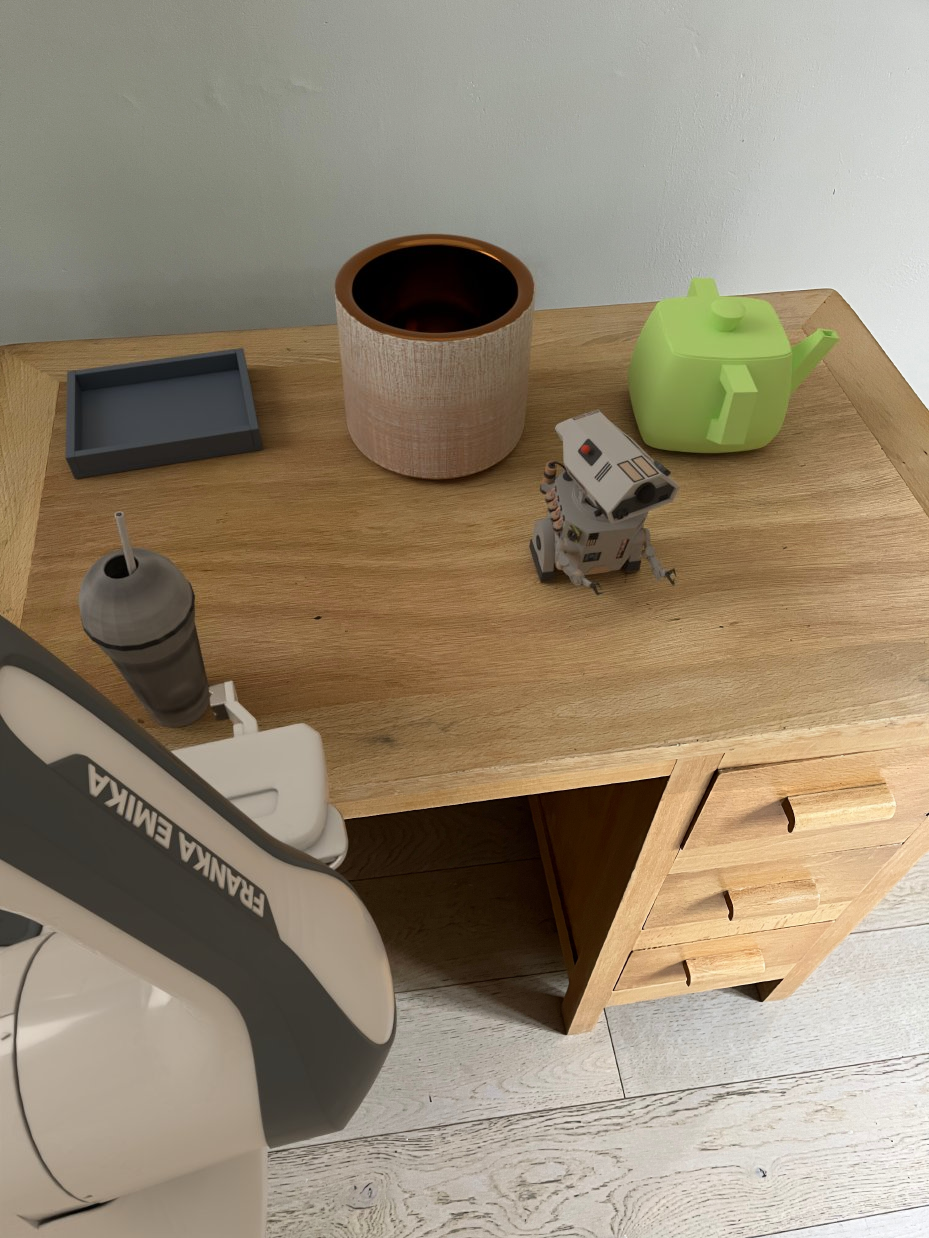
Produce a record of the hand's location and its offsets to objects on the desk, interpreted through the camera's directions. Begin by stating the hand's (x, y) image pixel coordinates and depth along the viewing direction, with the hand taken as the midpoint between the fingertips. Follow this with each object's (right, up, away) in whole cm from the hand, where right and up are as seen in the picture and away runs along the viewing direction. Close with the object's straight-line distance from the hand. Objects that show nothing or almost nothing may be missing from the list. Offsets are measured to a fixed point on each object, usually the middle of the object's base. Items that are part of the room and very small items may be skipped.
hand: (144, 703), depth 52 cm
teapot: (+45, +25, +36) cm, 63 cm away
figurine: (+30, +9, +22) cm, 38 cm away
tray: (-10, +25, +34) cm, 43 cm away
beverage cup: (-2, -1, +13) cm, 13 cm away
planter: (+17, +24, +34) cm, 45 cm away
